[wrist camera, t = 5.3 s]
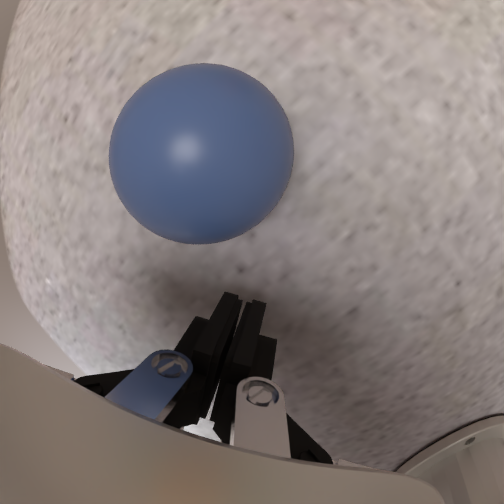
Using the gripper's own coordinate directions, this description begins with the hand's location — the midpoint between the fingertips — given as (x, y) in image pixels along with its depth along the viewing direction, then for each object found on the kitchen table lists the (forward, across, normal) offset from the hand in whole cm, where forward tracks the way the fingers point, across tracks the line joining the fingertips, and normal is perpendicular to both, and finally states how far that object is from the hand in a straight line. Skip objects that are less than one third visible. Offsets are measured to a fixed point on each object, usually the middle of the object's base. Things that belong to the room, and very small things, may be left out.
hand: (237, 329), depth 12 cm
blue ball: (-1, +2, -6) cm, 7 cm away
